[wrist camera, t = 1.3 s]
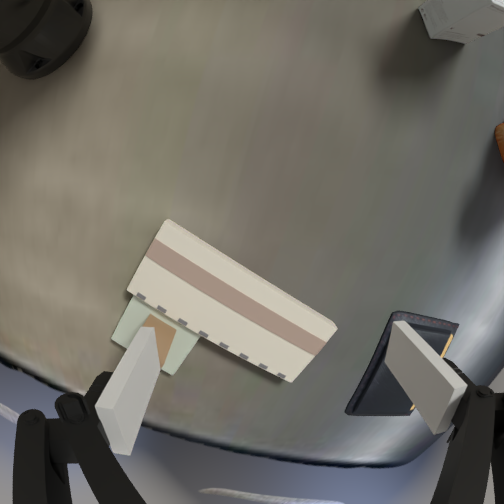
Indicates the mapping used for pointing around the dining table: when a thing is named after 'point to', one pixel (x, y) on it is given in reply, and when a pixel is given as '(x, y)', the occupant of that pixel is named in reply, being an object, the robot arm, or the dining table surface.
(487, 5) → the skincare box
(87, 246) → the dining table surface
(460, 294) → the dining table surface
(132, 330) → the stub
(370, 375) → the wallet
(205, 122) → the dining table surface
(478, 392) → the robot arm
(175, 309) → the pad
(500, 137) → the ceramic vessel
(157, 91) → the dining table surface
